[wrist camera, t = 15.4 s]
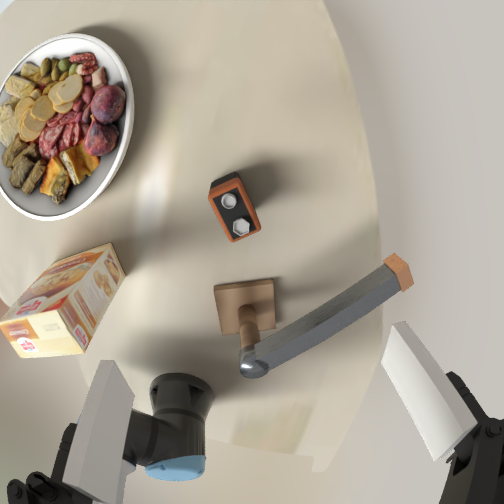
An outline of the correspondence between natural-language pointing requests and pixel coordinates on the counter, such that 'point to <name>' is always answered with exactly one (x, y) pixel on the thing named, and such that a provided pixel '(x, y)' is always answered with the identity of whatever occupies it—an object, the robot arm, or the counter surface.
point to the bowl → (63, 125)
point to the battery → (233, 207)
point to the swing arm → (326, 318)
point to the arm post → (246, 309)
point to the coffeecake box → (64, 305)
